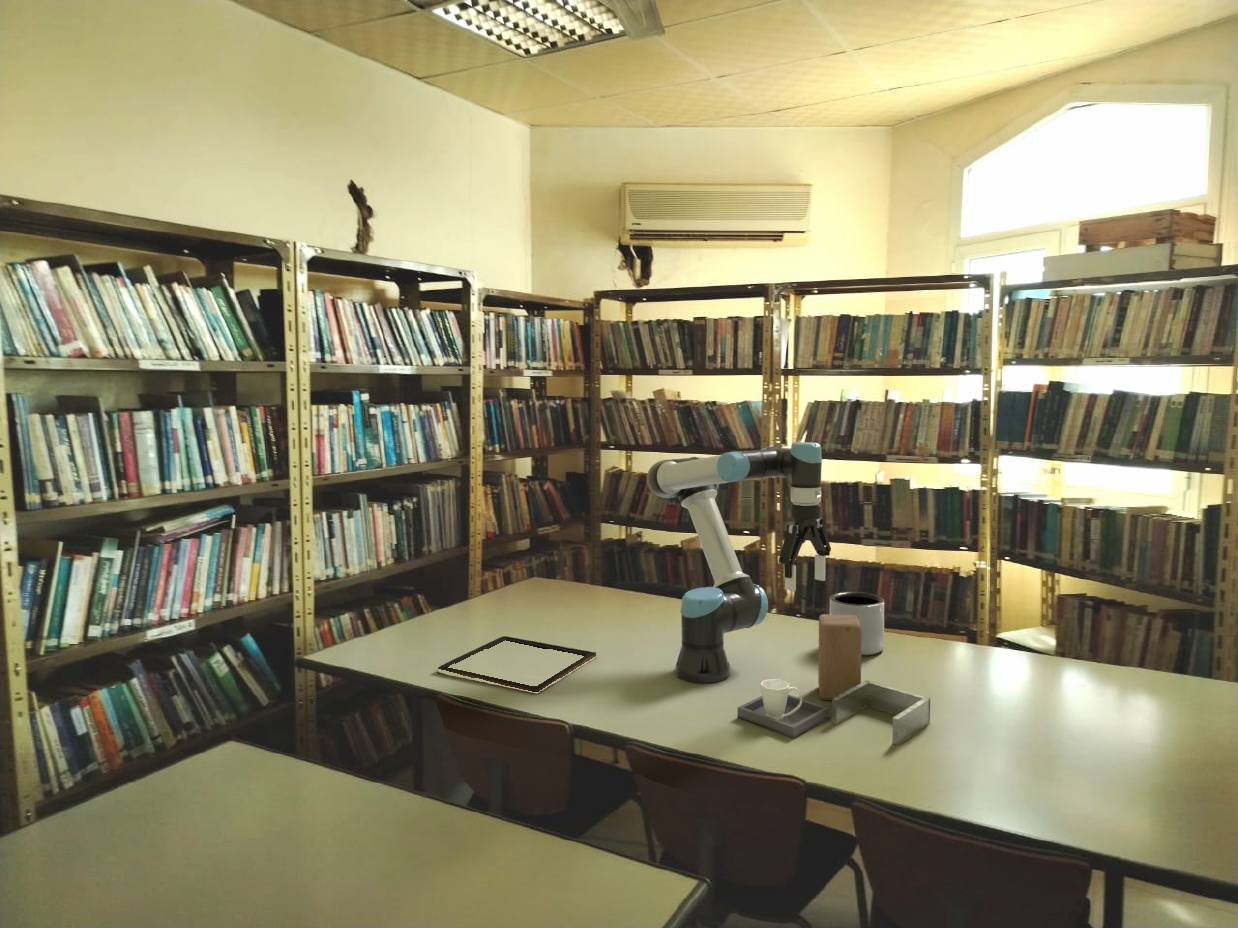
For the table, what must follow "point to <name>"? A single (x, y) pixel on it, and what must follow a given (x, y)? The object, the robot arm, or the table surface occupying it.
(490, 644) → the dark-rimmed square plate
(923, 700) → the bay
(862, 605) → the planter
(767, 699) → the cup
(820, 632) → the wooden block
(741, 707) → the tray
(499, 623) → the table surface
